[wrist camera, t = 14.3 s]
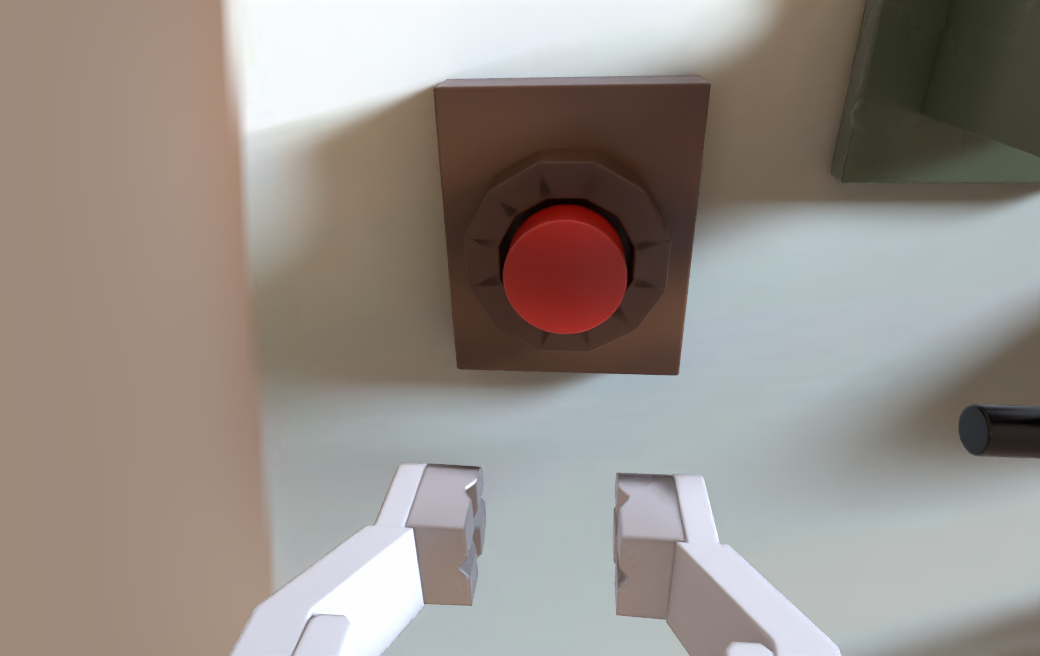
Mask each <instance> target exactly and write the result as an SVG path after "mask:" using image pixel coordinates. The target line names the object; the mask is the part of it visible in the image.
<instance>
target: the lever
mask: <svg viewBox="0 0 1040 656" xmlns="http://www.w3.org/2000/svg"><path fill="white" fill-rule="evenodd" d="M959 435H960V439H961V442H962V444H963V446H964V448H965V449H966V450H967V451H968V452H969V453H970V454H972V455H974V456H983V457H1008V458H1034V459H1040V406H1020V405H989V404H972V405H969V406H967V407H966V408H965V409H964V410H963V411H962V413H961V416H960V419H959Z"/></svg>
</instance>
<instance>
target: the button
mask: <svg viewBox="0 0 1040 656" xmlns="http://www.w3.org/2000/svg"><path fill="white" fill-rule="evenodd" d="M503 284H504V289H505V293H506V295H507V298H508V300H509V302H510V303H511V305H512V307H513V308H514V309H515V311H516V312H517V313H518V314H519V315H520V316H521V317H522V318H523V319H524V320H526V321H527V322H528V323H530V324H531V325H533V326H535V327H537V328H539V329H541V330H544V331H547V332H552V333H557V334H574V333H580V332H584V331H587V330H590V329H592V328H594V327H596V326H598V325H600V324H601V323H603V322H604V321H605V320H607V319H608V318H609V317H610V316H611V315H612V314H613V313H614V312H615V311H616V309H617V308H618V306H619V305H620V303H621V301H622V299H623V297H624V295H625V291H626V287H627V267H626V260H625V253H624V247H623V244H622V240H621V238H620V236H619V234H618V232H617V231H616V229H615V228H614V226H613V225H612V224H611V223H610V222H609V221H608V220H607V219H606V218H605V217H603V216H602V215H600V214H599V213H597V212H596V211H593V210H591V209H589V208H586V207H583V206H579V205H572V204H561V205H554V206H550V207H547V208H544V209H541V210H539V211H537V212H535V213H534V214H532V215H531V216H529V217H528V218H527V219H526V220H525V221H524V222H523V223H522V224H521V225H520V226H519V228H518V229H517V231H516V232H515V234H514V236H513V238H512V241H511V244H510V247H509V250H508V253H507V257H506V260H505V263H504V269H503Z"/></svg>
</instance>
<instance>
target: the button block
mask: <svg viewBox="0 0 1040 656" xmlns="http://www.w3.org/2000/svg"><path fill="white" fill-rule="evenodd" d="M710 86H711V85H710V83H709V82H707V81H706V80H705V79H703V78H702V77H701V76H699V75H678V76H615V77H552V78H490V79H447V80H445V81H444V82H442V83H440V84H439V85H437V86H436V87H434V89H433V91H434V103H435V115H436V127H437V138H438V150H439V162H440V173H441V185H442V197H443V209H444V220H445V232H446V244H447V255H448V267H449V279H450V291H451V302H452V314H453V326H454V337H455V349H456V361H457V368H458V369H470V370H505V371H539V372H574V373H608V374H643V375H678V374H679V366H680V357H681V348H682V339H683V330H684V321H685V312H686V303H687V294H688V285H689V276H690V267H691V258H692V249H693V240H694V231H695V222H696V213H697V204H698V195H699V186H700V177H701V168H702V159H703V150H704V141H705V132H706V122H707V113H708V104H709V95H710ZM561 204H572V205H579V206H583V207H586V208H589V209H591V210H593V211H596V212H597V213H599V214H600V215H602V216H603V217H605V218H606V219H607V220H608V221H609V222H610V223H611V224H612V225H613V226H614V228H615V229H616V231H617V232H618V234H619V236H620V238H621V240H622V244H623V247H624V253H625V260H626V267H627V287H626V291H625V295H624V297H623V299H622V301H621V303H620V305H619V306H618V308H617V309H616V311H615V312H614V313H613V314H612V315H611V316H610V317H609V318H608V319H607V320H605V321H604V322H603V323H601V324H600V325H598V326H596V327H594V328H592V329H590V330H587V331H584V332H580V333H574V334H557V333H552V332H547V331H544V330H541V329H539V328H537V327H535V326H533V325H531V324H530V323H528V322H527V321H526V320H524V319H523V318H522V317H521V316H520V315H519V314H518V313H517V312H516V311H515V309H514V308H513V307H512V305H511V303H510V302H509V300H508V298H507V295H506V293H505V289H504V284H503V269H504V263H505V260H506V257H507V253H508V250H509V247H510V244H511V241H512V238H513V236H514V234H515V232H516V231H517V229H518V228H519V226H520V225H521V224H522V223H523V222H524V221H525V220H526V219H527V218H528V217H529V216H531V215H532V214H534V213H535V212H537V211H539V210H541V209H544V208H547V207H550V206H554V205H561Z"/></svg>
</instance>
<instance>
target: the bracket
mask: <svg viewBox="0 0 1040 656" xmlns="http://www.w3.org/2000/svg"><path fill="white" fill-rule="evenodd" d="M831 175H832V176H833V177H835V178H836V179H837V180H839V181H840V182H841V183H1040V0H867V2H866V7H865V12H864V17H863V22H862V26H861V31H860V36H859V41H858V46H857V50H856V55H855V60H854V65H853V70H852V74H851V79H850V84H849V89H848V94H847V98H846V103H845V108H844V113H843V118H842V122H841V127H840V132H839V137H838V141H837V146H836V151H835V156H834V161H833V165H832V170H831Z"/></svg>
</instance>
